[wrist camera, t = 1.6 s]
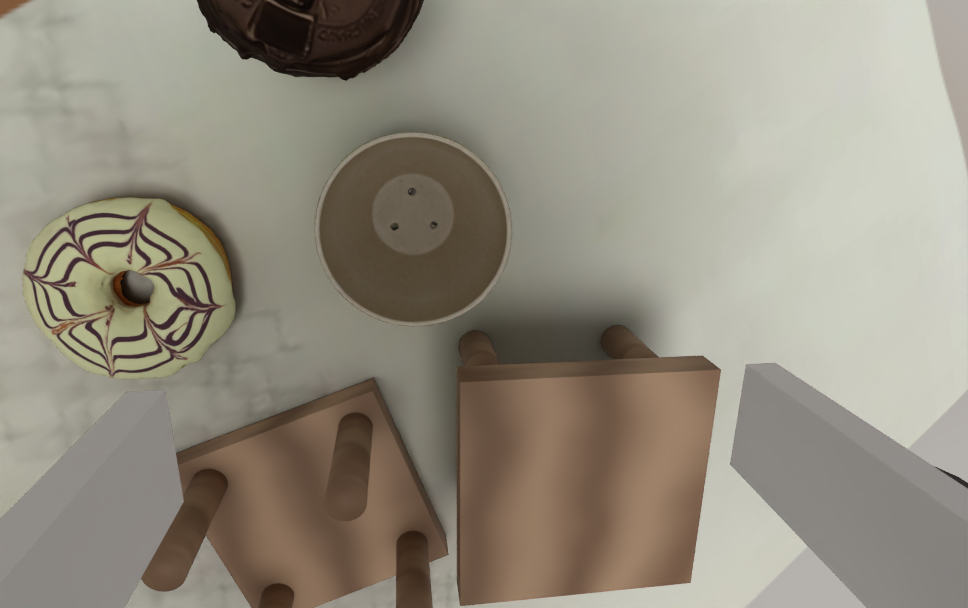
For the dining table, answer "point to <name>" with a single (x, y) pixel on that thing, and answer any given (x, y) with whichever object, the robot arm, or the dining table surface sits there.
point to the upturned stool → (307, 507)
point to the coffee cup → (313, 32)
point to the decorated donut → (98, 295)
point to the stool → (579, 470)
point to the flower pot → (413, 229)
